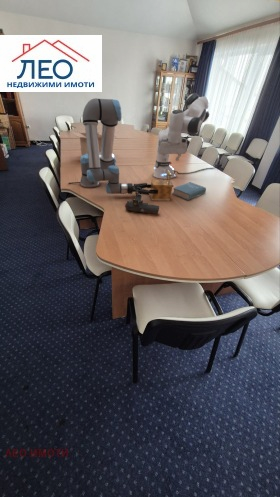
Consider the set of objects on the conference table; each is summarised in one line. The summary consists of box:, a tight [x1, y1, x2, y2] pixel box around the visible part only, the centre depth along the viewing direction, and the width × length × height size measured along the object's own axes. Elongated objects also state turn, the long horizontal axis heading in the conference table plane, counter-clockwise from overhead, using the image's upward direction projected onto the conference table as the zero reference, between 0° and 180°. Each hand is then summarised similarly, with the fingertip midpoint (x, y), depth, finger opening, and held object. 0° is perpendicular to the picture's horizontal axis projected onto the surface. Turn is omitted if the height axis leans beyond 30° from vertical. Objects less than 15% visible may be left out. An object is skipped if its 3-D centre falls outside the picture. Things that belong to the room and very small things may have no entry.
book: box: [172, 181, 207, 201], centre depth 178 cm, size 23×16×5 cm
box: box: [70, 130, 102, 156], centre depth 229 cm, size 44×36×27 cm
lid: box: [150, 171, 175, 188], centre depth 161 cm, size 15×10×9 cm
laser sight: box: [124, 194, 160, 215], centre depth 146 cm, size 10×22×10 cm, turn 78°
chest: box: [149, 182, 173, 202], centre depth 167 cm, size 14×10×11 cm
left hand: (156, 189), depth 165 cm, fingers closed on chest, 10 cm apart
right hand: (170, 160), depth 154 cm, fingers open, 8 cm apart
